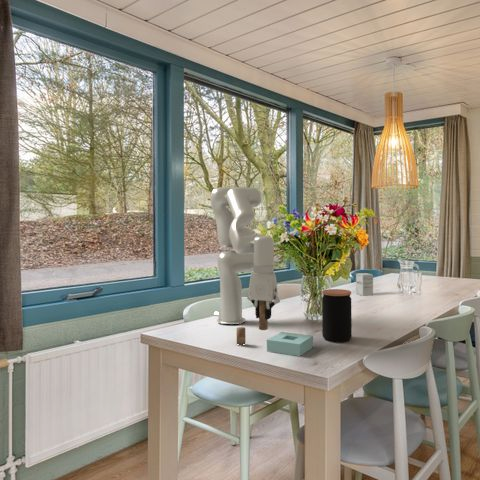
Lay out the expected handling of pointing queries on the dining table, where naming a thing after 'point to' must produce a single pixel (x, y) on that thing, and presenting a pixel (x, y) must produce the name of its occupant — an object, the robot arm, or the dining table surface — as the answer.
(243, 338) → the short dowel
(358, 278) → the supplement box
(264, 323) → the long dowel
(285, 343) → the hole block
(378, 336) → the dining table surface
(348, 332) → the coffee jar
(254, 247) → the robot arm
